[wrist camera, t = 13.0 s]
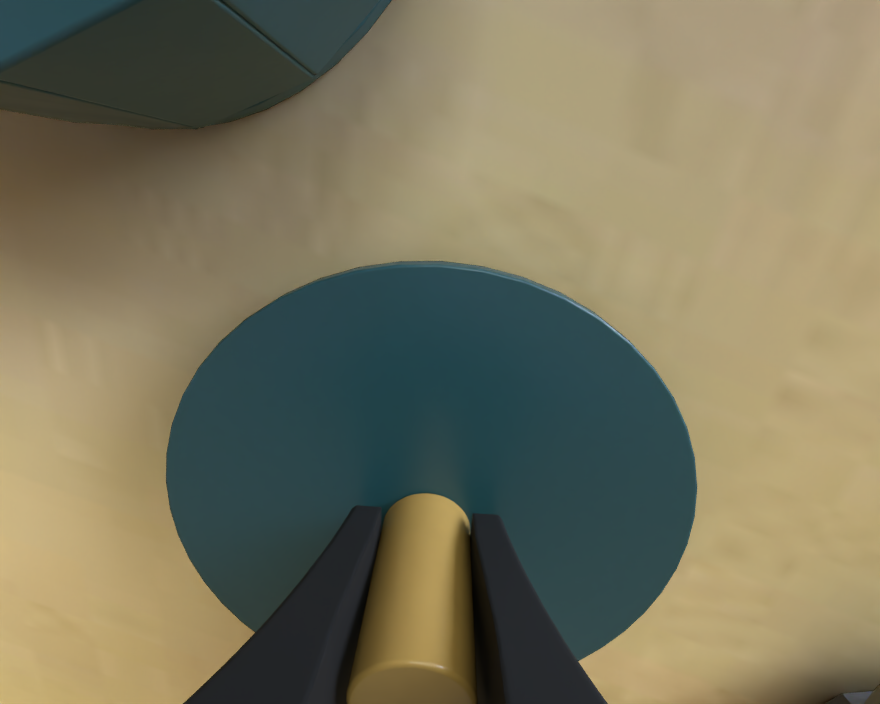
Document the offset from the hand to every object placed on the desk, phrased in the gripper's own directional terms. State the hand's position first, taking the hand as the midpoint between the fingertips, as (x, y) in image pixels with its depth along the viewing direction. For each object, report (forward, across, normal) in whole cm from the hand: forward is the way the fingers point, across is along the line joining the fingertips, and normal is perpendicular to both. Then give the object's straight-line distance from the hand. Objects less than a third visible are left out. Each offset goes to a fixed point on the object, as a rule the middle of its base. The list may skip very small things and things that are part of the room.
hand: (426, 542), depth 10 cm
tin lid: (+1, 0, 0) cm, 1 cm away
